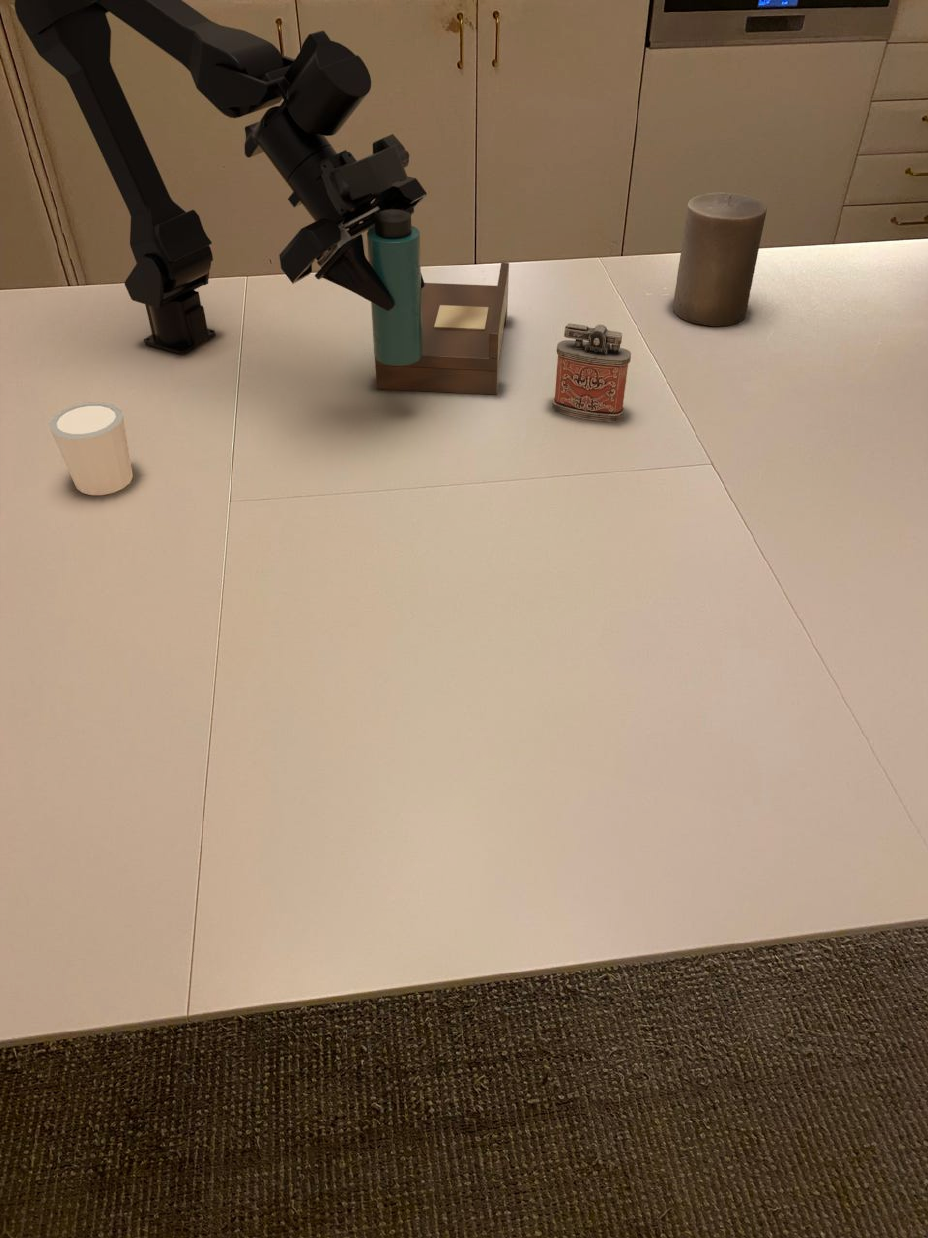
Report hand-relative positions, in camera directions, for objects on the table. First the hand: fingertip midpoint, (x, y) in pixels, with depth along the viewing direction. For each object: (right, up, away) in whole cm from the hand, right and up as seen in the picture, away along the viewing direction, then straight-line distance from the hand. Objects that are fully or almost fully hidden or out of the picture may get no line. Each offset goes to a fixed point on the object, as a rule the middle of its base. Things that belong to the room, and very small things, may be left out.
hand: (406, 298), depth 98 cm
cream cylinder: (-31, -19, -1) cm, 36 cm away
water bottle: (-1, -4, +5) cm, 7 cm away
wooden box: (+4, 0, +20) cm, 20 cm away
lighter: (+20, -10, +10) cm, 24 cm away
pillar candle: (+38, +8, +29) cm, 49 cm away
